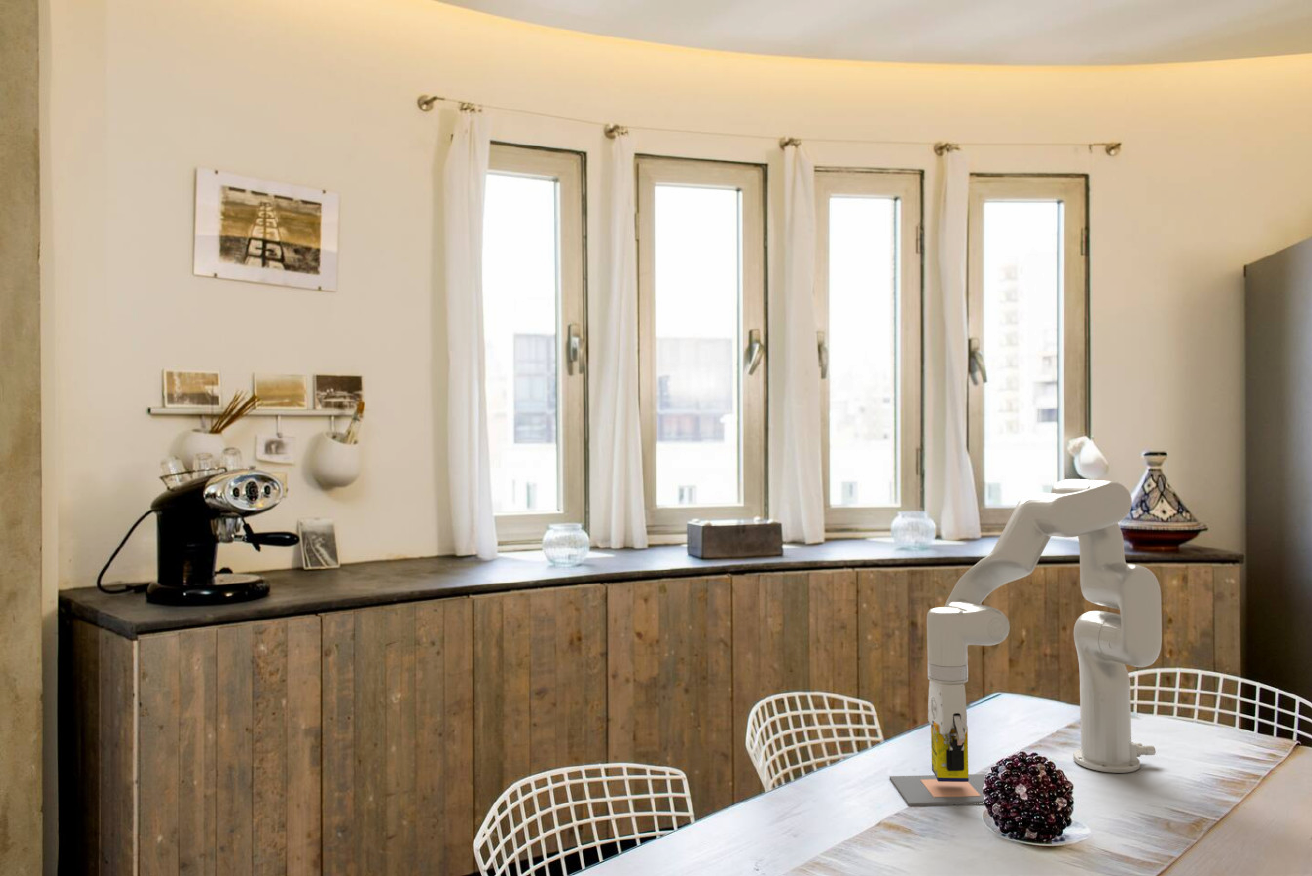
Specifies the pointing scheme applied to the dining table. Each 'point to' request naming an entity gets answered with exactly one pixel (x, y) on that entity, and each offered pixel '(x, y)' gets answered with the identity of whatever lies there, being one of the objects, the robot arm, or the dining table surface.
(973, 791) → the mat
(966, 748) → the supplement box
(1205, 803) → the dining table surface
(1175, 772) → the dining table surface
